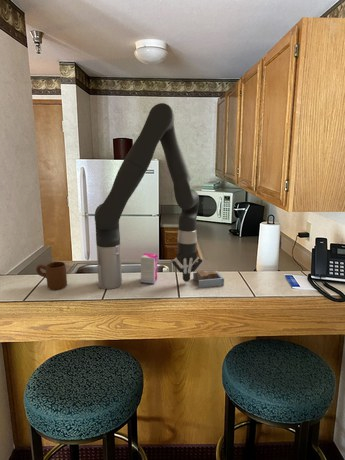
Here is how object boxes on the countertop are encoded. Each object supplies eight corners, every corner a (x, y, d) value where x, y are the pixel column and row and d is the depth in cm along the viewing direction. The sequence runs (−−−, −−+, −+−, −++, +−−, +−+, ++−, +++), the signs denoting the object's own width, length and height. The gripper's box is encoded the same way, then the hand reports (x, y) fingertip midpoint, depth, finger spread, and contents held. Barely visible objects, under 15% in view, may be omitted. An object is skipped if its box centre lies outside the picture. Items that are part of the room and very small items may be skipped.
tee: (201, 285, 134) (201, 276, 133) (196, 280, 139) (196, 271, 138) (218, 283, 136) (218, 274, 135) (213, 278, 141) (213, 269, 140)
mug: (33, 289, 130) (30, 267, 128) (42, 281, 138) (40, 260, 135) (62, 291, 129) (60, 268, 127) (70, 283, 136) (68, 261, 134)
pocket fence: (199, 287, 132) (199, 280, 131) (193, 279, 140) (193, 272, 140) (223, 285, 134) (224, 278, 133) (216, 277, 142) (216, 270, 142)
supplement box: (154, 284, 135) (154, 258, 132) (140, 283, 136) (139, 257, 133) (157, 279, 140) (157, 253, 137) (144, 278, 141) (143, 252, 139)
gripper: (172, 244, 126) (172, 286, 130) (206, 242, 129) (204, 283, 133) (168, 238, 133) (168, 278, 137) (200, 237, 136) (199, 276, 140)
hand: (186, 281), depth 135 cm, fingers closed
